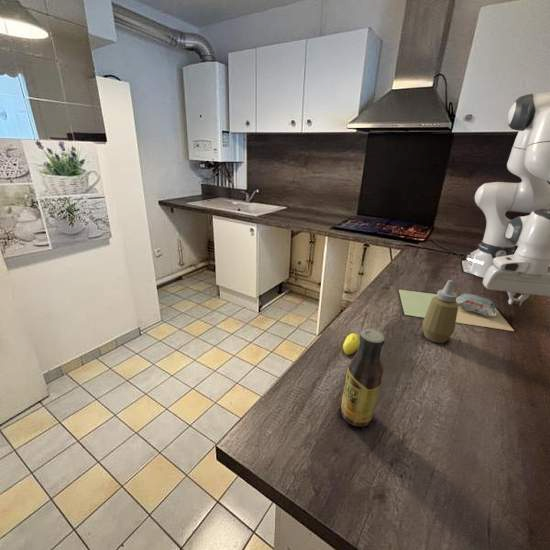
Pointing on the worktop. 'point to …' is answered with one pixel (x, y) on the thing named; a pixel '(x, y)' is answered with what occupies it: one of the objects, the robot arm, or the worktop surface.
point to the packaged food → (477, 304)
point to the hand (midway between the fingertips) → (514, 304)
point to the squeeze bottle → (441, 315)
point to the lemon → (351, 343)
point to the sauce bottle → (363, 380)
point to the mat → (420, 302)
